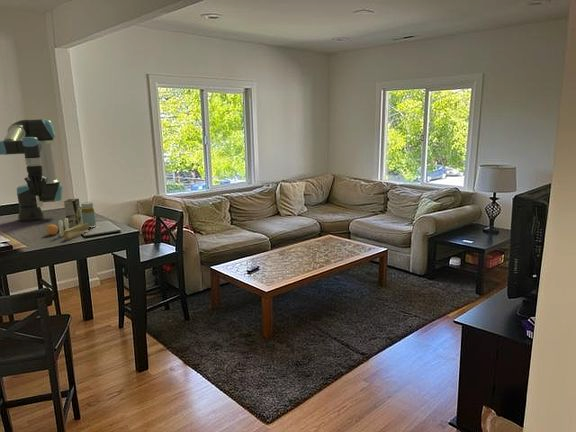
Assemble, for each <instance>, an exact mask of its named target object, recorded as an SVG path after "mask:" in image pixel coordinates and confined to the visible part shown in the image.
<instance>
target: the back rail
mask: <svg viewBox="0 0 576 432" xmlns="http://www.w3.org/2000/svg"><path fill="white" fill-rule="evenodd" d="M88 229H89V230H90V228H89V225H88V223H83V222H82V224H80V225H77V226H75V227H69V229H67V230H66V229H65V230H64V229H63V230H64V236H63V237H64V240H65V241H68V240H69V241H71V240H72V239H75V238H78V237H79V236H82V235H83V234H82V233H83V232H84V231H86V230H88ZM81 234H82V235H81Z"/></svg>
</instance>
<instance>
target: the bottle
mask: <svg viewBox="0 0 576 432" xmlns="http://www.w3.org/2000/svg"><path fill="white" fill-rule="evenodd" d="M93 204H94V203H93V202H91V201H89V202H82V203H81V219H82V223H88V225H89V226H94V225H96V226H97V223H96V222H97V221H96V213H95V210H94V205H93Z"/></svg>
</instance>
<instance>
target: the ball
mask: <svg viewBox="0 0 576 432" xmlns="http://www.w3.org/2000/svg"><path fill="white" fill-rule="evenodd" d="M58 231H59V227H58V226H57V225H56V224H49V225H47V226H46V228H45V232H46V234H47V235H50V236H51V235H52V236H54V235H56V234H57V233H58Z"/></svg>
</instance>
